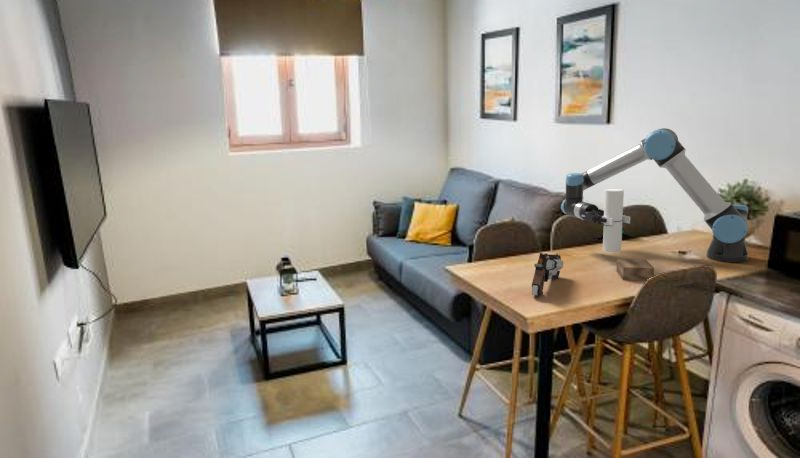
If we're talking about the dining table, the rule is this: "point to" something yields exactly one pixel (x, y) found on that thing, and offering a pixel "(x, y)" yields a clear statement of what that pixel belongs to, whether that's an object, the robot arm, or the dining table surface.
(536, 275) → the toy gun
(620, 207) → the cylindrical container
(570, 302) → the dining table surface
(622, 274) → the base block
